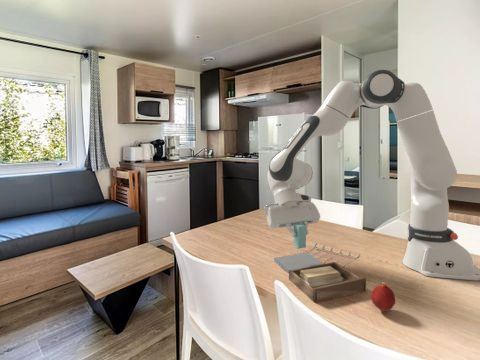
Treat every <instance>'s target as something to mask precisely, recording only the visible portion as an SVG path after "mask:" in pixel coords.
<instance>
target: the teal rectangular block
mask: <svg viewBox="0 0 480 360" xmlns="http://www.w3.org/2000/svg"><path fill="white" fill-rule="evenodd" d="M293 230H296V231H297V234H298V235H297V236H295V237H293V246H294V248H297V249H306V248H307V235H306V225H304V224H302V223H297V224H294V226H293Z"/></svg>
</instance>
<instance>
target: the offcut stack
mask: <svg viewBox="0 0 480 360" xmlns="http://www.w3.org/2000/svg"><path fill="white" fill-rule="evenodd" d="M299 277H300V278H301V279H302V280H303V281H305V282H306V283H307V284H308V285H309V286H311V287H312V288H316V287H321V286H325V285H330V284H335V283H339V282H344V281H343V279H344V278H343V277H341V276H340V273H339V272H338V271H337V270H335V269H334V268H332V267H331V266H326V267H320V268H314V269H307V270H301V271H300V276H299Z"/></svg>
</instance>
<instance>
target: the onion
mask: <svg viewBox="0 0 480 360" xmlns="http://www.w3.org/2000/svg"><path fill="white" fill-rule="evenodd" d="M370 299H371V302H372V304H373V305H374V306H375V307H376V308H377V309H378V310H379V311H381V312H386V311H389V310H391V309H393V307H395V305H396V301H397V300H396V299H397V298H396V294H395V293H394V291H393V290H392V289H391V287H390V286H388V285H387V284H386V283H385V282H380V284H378V285H377V286H375V287H374V288H373V289H372V291H371V293H370Z"/></svg>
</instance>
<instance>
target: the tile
mask: <svg viewBox="0 0 480 360" xmlns="http://www.w3.org/2000/svg"><path fill="white" fill-rule="evenodd" d="M273 261H274V262H275V263H276V264H277V265H278V266H279V267H280V268H282V269H283V270H284V271H285V272H286V273H287V274H288V275H289V270H294V269H300V268H305V267H311V266H316V265H321V264H324V262H322V261H320V259H318V258H316V257H314V256H313V255H311V254H310V253H309V252H306V251H305V252H301V253H297V254H296V253H295V254H290V255H283V256H278V257H274V258H273Z"/></svg>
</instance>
